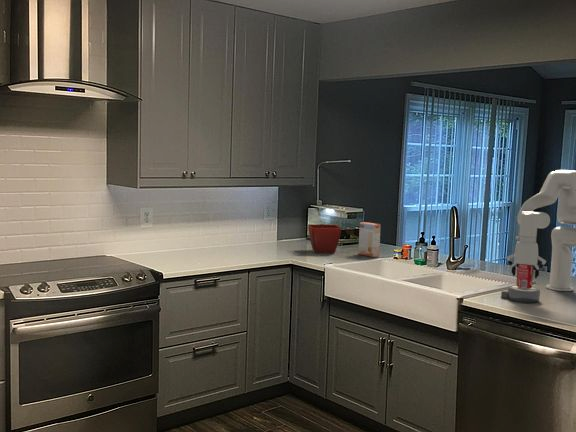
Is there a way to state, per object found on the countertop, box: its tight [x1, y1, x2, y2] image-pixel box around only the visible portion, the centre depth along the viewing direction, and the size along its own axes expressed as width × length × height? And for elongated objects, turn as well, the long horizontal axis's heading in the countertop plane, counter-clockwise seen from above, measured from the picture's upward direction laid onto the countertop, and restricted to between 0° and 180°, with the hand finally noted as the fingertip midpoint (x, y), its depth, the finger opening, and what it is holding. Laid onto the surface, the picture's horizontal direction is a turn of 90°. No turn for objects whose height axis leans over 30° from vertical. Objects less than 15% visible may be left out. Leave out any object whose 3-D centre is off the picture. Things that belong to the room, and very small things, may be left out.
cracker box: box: [357, 221, 381, 258], centre depth 405 cm, size 14×6×21 cm, turn 34°
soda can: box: [515, 263, 535, 289], centre depth 293 cm, size 7×7×12 cm
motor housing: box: [500, 285, 541, 305], centre depth 294 cm, size 14×16×6 cm
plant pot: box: [307, 224, 342, 254], centre depth 416 cm, size 19×19×17 cm
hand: (524, 276), depth 293 cm, fingers open, 9 cm apart
